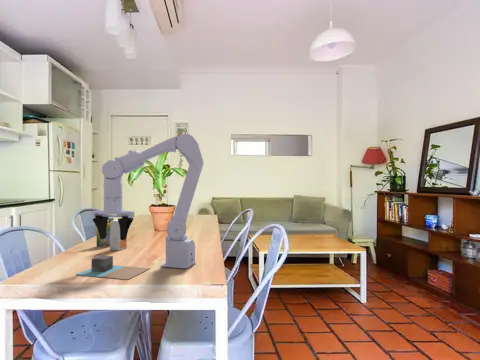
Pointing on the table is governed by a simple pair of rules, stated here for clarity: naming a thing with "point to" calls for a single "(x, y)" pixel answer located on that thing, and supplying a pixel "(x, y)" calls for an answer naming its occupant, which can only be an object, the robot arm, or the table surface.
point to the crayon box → (106, 240)
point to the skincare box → (116, 237)
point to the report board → (116, 272)
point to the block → (102, 263)
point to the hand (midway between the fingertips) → (113, 239)
